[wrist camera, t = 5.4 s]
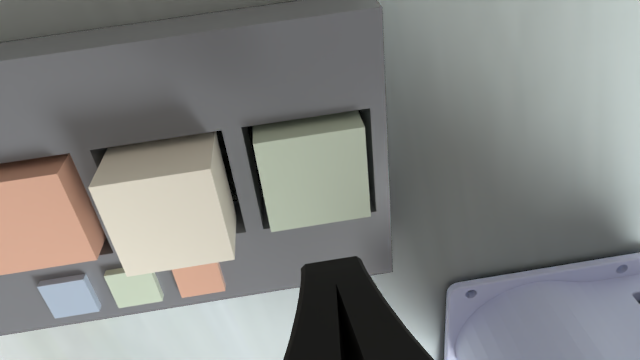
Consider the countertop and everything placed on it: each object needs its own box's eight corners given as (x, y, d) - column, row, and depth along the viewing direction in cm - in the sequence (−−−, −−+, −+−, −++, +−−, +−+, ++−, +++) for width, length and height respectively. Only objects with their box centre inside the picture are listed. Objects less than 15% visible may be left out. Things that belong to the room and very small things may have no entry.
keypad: (367, -10, 16) (384, 9, 14) (381, 239, 21) (394, 277, 19) (-259, 79, 15) (-335, 111, 13) (-78, 312, 20) (-112, 360, 18)
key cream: (215, 130, 16) (210, 168, 14) (236, 214, 18) (234, 259, 16) (108, 146, 16) (88, 187, 14) (140, 229, 18) (126, 276, 16)
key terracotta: (80, 136, 17) (57, 173, 15) (113, 216, 19) (97, 259, 17) (-24, 151, 17) (-61, 192, 15) (20, 231, 19) (-7, 276, 17)
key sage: (351, 95, 17) (364, 127, 15) (358, 178, 19) (370, 216, 17) (252, 110, 17) (252, 144, 15) (268, 192, 19) (271, 232, 17)
